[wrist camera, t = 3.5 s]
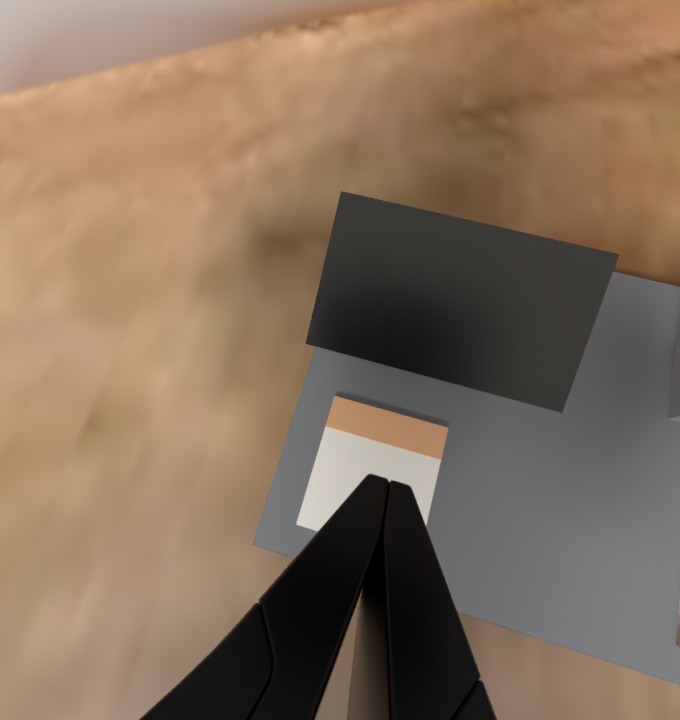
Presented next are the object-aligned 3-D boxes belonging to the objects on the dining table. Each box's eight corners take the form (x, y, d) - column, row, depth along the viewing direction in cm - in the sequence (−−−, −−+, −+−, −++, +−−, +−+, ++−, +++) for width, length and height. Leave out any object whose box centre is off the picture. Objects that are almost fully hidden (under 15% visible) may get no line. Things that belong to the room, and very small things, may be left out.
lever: (458, 333, 16) (562, 412, 5) (371, 311, 17) (305, 343, 6) (474, 281, 16) (618, 255, 5) (385, 260, 16) (341, 191, 5)
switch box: (826, 725, 14) (1027, 830, 10) (259, 539, 16) (226, 561, 12) (826, 338, 18) (976, 294, 13) (359, 228, 20) (359, 159, 16)
